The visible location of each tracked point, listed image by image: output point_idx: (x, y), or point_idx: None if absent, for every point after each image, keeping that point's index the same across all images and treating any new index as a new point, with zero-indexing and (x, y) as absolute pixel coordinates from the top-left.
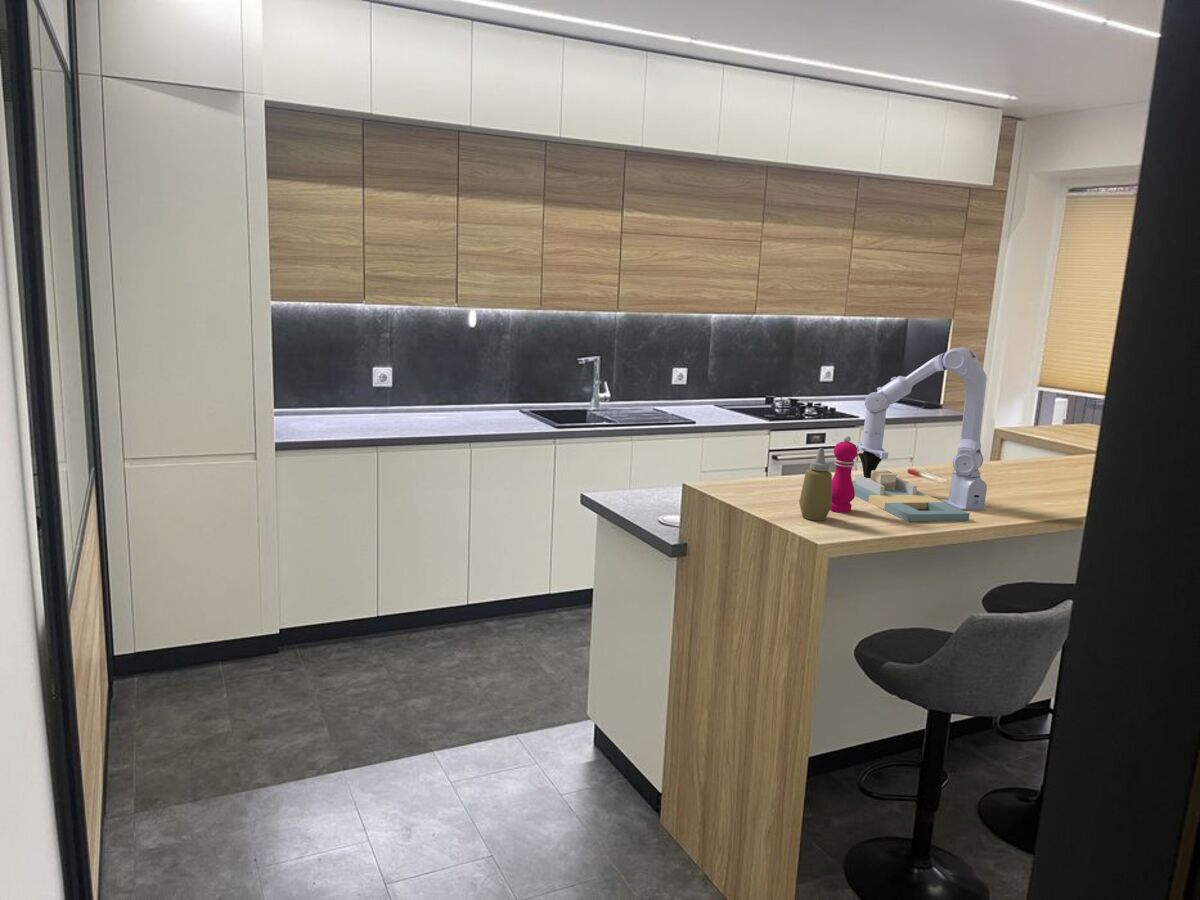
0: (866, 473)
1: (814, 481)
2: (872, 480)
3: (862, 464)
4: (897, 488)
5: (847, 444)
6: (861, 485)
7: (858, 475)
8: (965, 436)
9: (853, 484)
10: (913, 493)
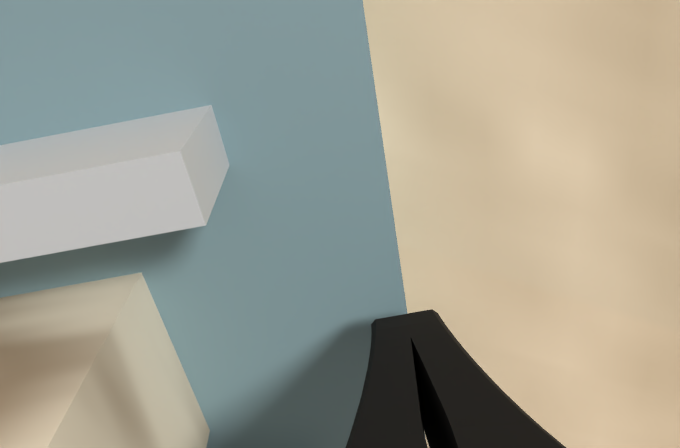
0: (370, 364)
1: None
2: (55, 334)
3: (521, 433)
4: None
5: None
6: (32, 142)
7: (156, 182)
8: None
9: (120, 42)
10: None
